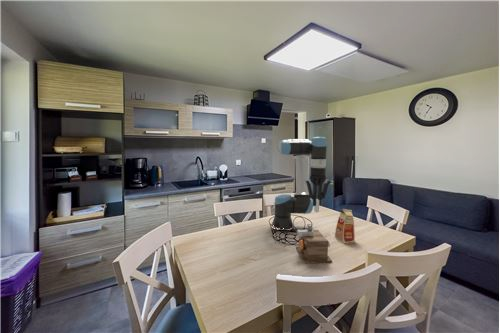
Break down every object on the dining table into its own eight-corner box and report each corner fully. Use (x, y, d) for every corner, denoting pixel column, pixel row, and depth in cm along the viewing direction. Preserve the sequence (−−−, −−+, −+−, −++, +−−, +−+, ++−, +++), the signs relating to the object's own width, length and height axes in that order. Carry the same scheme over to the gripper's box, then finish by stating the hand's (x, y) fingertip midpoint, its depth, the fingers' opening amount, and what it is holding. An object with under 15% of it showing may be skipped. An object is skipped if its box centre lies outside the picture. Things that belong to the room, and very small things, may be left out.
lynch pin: (298, 247, 119) (298, 238, 118) (326, 246, 120) (326, 237, 119) (301, 251, 114) (301, 242, 113) (330, 251, 115) (330, 241, 114)
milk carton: (343, 243, 131) (345, 211, 129) (333, 237, 140) (335, 206, 138) (356, 241, 133) (358, 210, 131) (345, 235, 142) (347, 205, 140)
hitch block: (296, 248, 125) (296, 229, 123) (319, 247, 125) (320, 229, 124) (304, 263, 109) (305, 242, 108) (332, 262, 110) (333, 241, 108)
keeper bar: (296, 234, 117) (297, 224, 116) (311, 233, 117) (311, 224, 117) (298, 236, 114) (298, 226, 113) (313, 236, 114) (313, 226, 114)
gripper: (308, 168, 108) (306, 214, 111) (333, 167, 109) (331, 213, 111) (303, 166, 116) (302, 209, 118) (327, 166, 116) (325, 209, 119)
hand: (316, 211), depth 115 cm, fingers closed
